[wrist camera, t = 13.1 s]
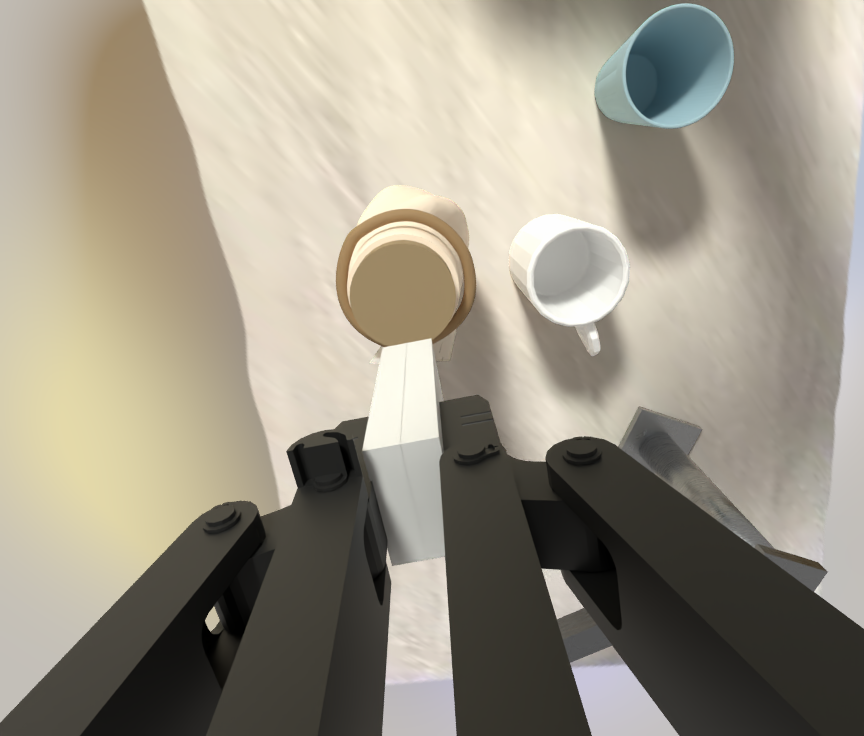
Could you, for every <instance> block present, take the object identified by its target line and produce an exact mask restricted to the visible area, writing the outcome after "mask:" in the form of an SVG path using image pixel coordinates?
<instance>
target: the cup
mask: <svg viewBox="0 0 864 736" xmlns="http://www.w3.org/2000/svg"><path fill="white" fill-rule="evenodd" d="M733 65H734V49H733V43H732V39H731V36H730V34H729V31H728V29H727V27H726V26H725V24H724V23H723V21H722V20H721V19H720V18H719V17H718V16H717V15H716V14H715V13H713V12H712V11H711V10H709V9H707V8H705V7H703V6H700V5H696V4H676V5H672V6H669V7H666V8H664V9H662V10H660V11H658V12H656V13H655V14H653V15H652V16H650V17H649V18H648V19H647V20H646V21H645V22H644V23H643V24H642V25H641V26H640V27H639V28H638V29H637V30H636V31H635V32H634V33H633V34H632V35H631V36H630V38H629V39H628V40H627V41H626V42H625V43H624V44H623V45H622V46H621V47H620V48H619V49H618V50H617V51H616V52H615V53H614V54H613V55H612V56H611V57H610V58H609V59H608V61H607V62H606V63H605V64H604V65H603V67H602V69H601V71H600V72H599V74H598V76H597V78H596V84H595V98H596V102H597V105H598V107H599V109H600V110H601V111H602V113H603V114H604V115H605V116H606V117H607V118H609V119H612V120H614V121H617V122H621V123H627V124H635V125H643V126H651V127H657V128H665V129H674V128H681V127H685V126H688V125H690V124H693V123H695V122H697V121H698V120H700V119H702V118H703V117H704V116H706V115H707V114H708V113H709V112H710V111H711V110H712V109H713V108H714V107H715V106H716V105H717V104H718V102H719V101H720V100H721V98H722V97H723V95H724V93H725V91H726V89H727V87H728V85H729V82H730V79H731V76H732V72H733Z"/></svg>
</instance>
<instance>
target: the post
mask: <svg viewBox="0 0 864 736" xmlns="http://www.w3.org/2000/svg"><path fill="white" fill-rule="evenodd" d="M701 431H702V429H701V428H700V427H699V426H697V425H694V424H691V423H688V422H685V421H682V420H679V419H676V418H673V417H670V416H667V415H664V414H661V413H658V412H655V411H652V410H649V409H646V408H643V407H640V406H639V408H638V410H637V412H636V414H635V416H634V417H633V419H632V421H631V423H630V425H629V427H628V429H627V431H626V433H625V435H624V437H623V439H622V441H621V443H620V445H619V448H620V449H621V450H623V451H624V452H625V453H627V454H628V455H630V456H631V457H632V458H634V459H635V460H636V461H638V462H639V463H640V464H642V465H643V466H644V467H646V468H647V469H648V470H650V471H651V472H652V473H654V474H655V475H657V476H658V477H659V478H661V479H662V480H663V481H665V482H666V483H667V484H669V485H670V486H671V487H673V488H674V489H675V490H677V491H678V492H679V493H681V494H682V495H684V496H685V497H686V498H688V499H689V500H690V501H692V502H693V503H694V504H696V505H697V506H698V507H700V508H701V509H702V510H704V511H705V512H707V513H708V514H709V515H711V516H712V517H713V518H715V519H716V520H717V521H719V522H720V523H721V524H723V525H724V526H725V527H727V528H728V529H729V530H731V531H732V532H734V533H735V534H736V535H738V536H739V537H740V538H742V539H743V540H744V541H746V542H747V543H748V544H750V545H751V546H752V547H754V548H755V549H756V550H758V551H759V552H761V553H762V554H763V555H765V556H766V557H767V558H769V559H770V560H771V561H773V562H774V563H775V564H777V565H778V566H779V567H781V568H782V569H784V570H785V571H786V572H788V573H789V574H790V575H792V576H793V577H794V578H796V579H797V580H798V581H800V582H801V583H802V584H804V585H805V586H806V587H808V588H809V589H811V590H812V591H813V592H814V591H815V589H816V588H817V586H818V585H819V584H820V582H821V581H822V579H823V578H824V576H825V575H826V574H827V571H826V570H825V569H824V568H823V567H822V566H821V565H820V564H819V563H818V562H815V561H812V560H809V559H806V558H802V557H799V556H796V555H793V554H789V553H786V552H783V551H779V550H776V549H774V547H773V546H772V545H771V544H770V543H769V542H768V541H767V540H766V539H765V538H764V537H763V536H762V535H761V534H760V532H759V531H758V530H757V529H756V528H755V527H754V526H753V525H752V524H751V523H750V522H749V521H748V520H747V519H746V517H745V516H744V515H743V514H742V513H741V512H740V511H739V510H738V509H737V508H736V507H735V506H734V505H733V504H732V503H731V501H730V500H729V499H728V498H727V497H726V496H725V495H724V494H723V493H722V492H721V491H720V490H719V489H718V488H717V486H716V485H715V484H714V483H713V482H712V481H711V480H710V479H709V478H708V477H707V476H706V475H705V474H704V473H703V471H702V470H701V469H700V468H699V467H698V466H697V465H696V464H695V463H694V462H693V461H692V460H691V459H690V458H689V456H688V454H689V452H690V450H691V449H692V447H693V445H694V443H695V441H696V440H697V438H698V436H699V434H700V432H701Z"/></svg>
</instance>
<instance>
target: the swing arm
mask: <svg viewBox="0 0 864 736" xmlns="http://www.w3.org/2000/svg"><path fill="white" fill-rule="evenodd" d="M557 622H558V625H559V629H560V632H561V635H562V639H563V642H564V645H565V649H566V652H567V655H568V659H569V662H573V661H575V660H578V659H580V658H583V657H585V656H588V655H590V654H592V653H595V652H597V651H600V650H602V649H605V648H607V647H610V646H612V644H611V643H610V642H609V640H608V639H607V638H606V636H605V635H604V634H603V632H602V631H601V629H600V628H599V627H598V625H597V624H596V623H595V621H594V620H593V619H592V617H591V616H590V615H589V613H588V612H587V611H586V609H585V608H583V609H581V610H579V611H576V612H574V613H571V614H569V615H567V616H564V617H562V618H559V619H557Z"/></svg>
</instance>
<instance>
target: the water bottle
mask: <svg viewBox="0 0 864 736" xmlns="http://www.w3.org/2000/svg"><path fill="white" fill-rule="evenodd" d="M468 246H469V231H468V226H467V222H466V218H465V215H464V213H463V211H462V210H461V208H460V207H459V206H458V205H457V204H456V203H455V202H454V201H452V200H450V199H448V198H445V197H442V196H434V195H432V194H431V193H429V192H427V191H424V190H422V189H418V188H415V187H411V186H404V185H396V186H390V187H387V188H385V189H383V190H382V191H381V192H379V193H378V194H377V195H376V197H375V198H374V199H373V200H372V201H371V203H370V204H369V205H368V207H367V208H366V209H365V211H364V212H363V214H362V216H361V217H360V219H359V222H358V224H357V226H356V227H355V228H354V229H353V230H351V231H350V233H349V234H348V235H347V237H346V239H345V241H344V243H343V246H342V248H341V251H340V255H339V259H338V264H337V271H336V289H337V296H338V300H339V303H340V306H341V309H342V311H343V313H344V315H345V316H346V318H347V319H348V321H349V322H350V324H351V325H352V326H353V327H354V328H355V329H356V330H357V331H358V332H359V333H361V334H362V335H363V336H364V337H366V338H367V339H369V340H371V341H373V342H374V343H376V344H378V345H381V347H380V349H379V350H378V351H377V353H376V354H375V356H374V357H373V359H372V360H371V362H370V363H369V364H377V363H380V358H381V353H382V348H383V347H388V346H394V345H399V344H404V343H409V342H415V341H420V340H425V339H430V338H431V339H432V344H433V349H434V354H435V359H436V361H450V359H451V354H452V349H453V345H454V340H455V335H456V331H457V329H456V328H457V327H458V326H459V325H460V324H461V323H462V322H463V321H464V320H465V318H466V317H467V315H468V313H469V312H470V310H471V307H472V305H473V302H474V298H475V293H476V275H475V269H474V264H473V260H472V257H471V254H470V252H469V250H468ZM463 274H464V295H463V299H462V302H461V304H460V306H459V308H458V310H457V311H456V309H457V306H458V303H459V298H460V291H461V287H462V283H463ZM455 311H456V313H455ZM454 313H455V314H454Z"/></svg>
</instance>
